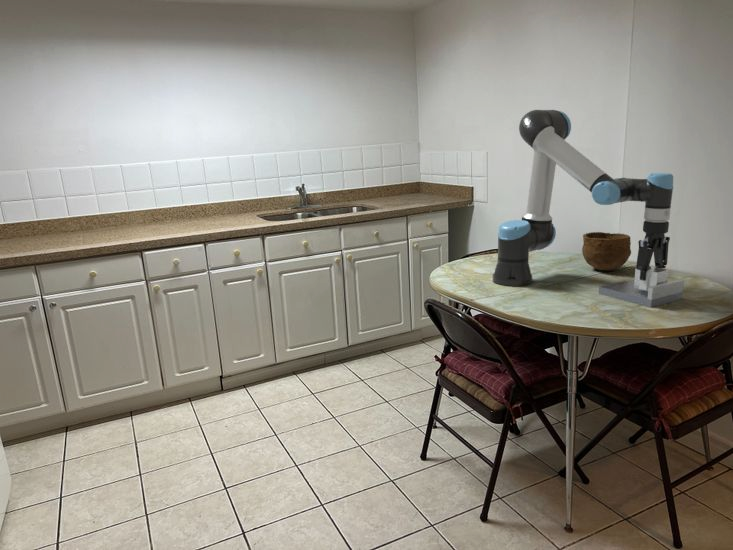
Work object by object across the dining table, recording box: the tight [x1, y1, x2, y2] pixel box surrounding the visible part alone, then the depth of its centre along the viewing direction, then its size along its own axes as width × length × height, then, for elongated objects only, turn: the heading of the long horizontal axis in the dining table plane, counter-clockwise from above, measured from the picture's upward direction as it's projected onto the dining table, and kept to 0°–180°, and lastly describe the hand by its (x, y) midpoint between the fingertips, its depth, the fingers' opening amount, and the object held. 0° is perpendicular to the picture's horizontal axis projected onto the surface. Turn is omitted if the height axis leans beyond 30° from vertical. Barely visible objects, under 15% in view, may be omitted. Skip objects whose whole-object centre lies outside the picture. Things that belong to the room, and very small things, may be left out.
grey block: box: [633, 265, 670, 291], centre depth 185 cm, size 6×8×8 cm
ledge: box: [598, 279, 685, 308], centre depth 189 cm, size 17×20×6 cm
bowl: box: [581, 231, 632, 272], centre depth 226 cm, size 19×19×15 cm
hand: (649, 287), depth 185 cm, fingers closed on grey block, 6 cm apart
